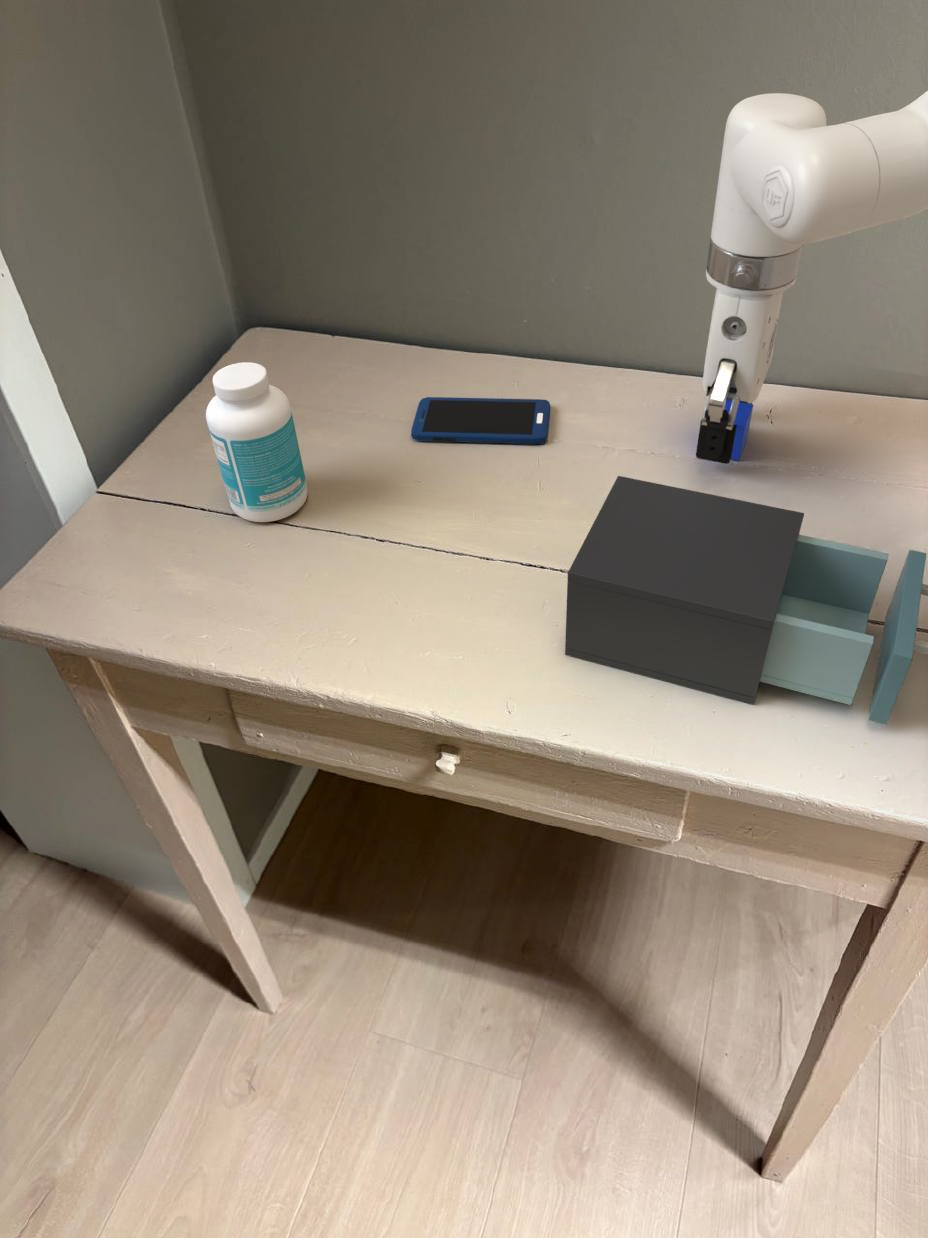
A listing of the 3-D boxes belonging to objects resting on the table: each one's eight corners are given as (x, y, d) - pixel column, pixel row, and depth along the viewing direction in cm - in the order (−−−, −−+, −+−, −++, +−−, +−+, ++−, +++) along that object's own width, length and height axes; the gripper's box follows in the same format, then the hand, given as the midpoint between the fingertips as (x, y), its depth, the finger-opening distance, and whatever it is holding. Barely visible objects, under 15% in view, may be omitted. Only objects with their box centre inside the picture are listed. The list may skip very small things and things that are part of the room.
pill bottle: (322, 485, 93) (298, 359, 83) (287, 532, 88) (258, 403, 78) (253, 473, 95) (223, 349, 85) (216, 518, 90) (179, 391, 80)
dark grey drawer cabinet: (783, 596, 79) (804, 512, 73) (753, 705, 70) (774, 621, 64) (611, 556, 83) (618, 475, 77) (564, 655, 75) (567, 572, 69)
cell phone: (547, 444, 96) (547, 438, 95) (409, 441, 97) (409, 434, 97) (551, 405, 101) (551, 398, 100) (420, 402, 103) (420, 396, 102)
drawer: (970, 635, 73) (1000, 567, 69) (962, 745, 66) (995, 678, 61) (728, 579, 79) (740, 514, 74) (695, 675, 72) (706, 609, 67)
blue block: (747, 439, 95) (753, 404, 92) (738, 461, 92) (745, 425, 90) (706, 432, 96) (712, 397, 93) (697, 453, 94) (702, 418, 91)
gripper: (779, 312, 75) (745, 490, 86) (814, 225, 86) (779, 393, 98) (684, 298, 77) (663, 474, 89) (730, 216, 88) (706, 381, 100)
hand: (724, 431), depth 93 cm, fingers open, 9 cm apart
